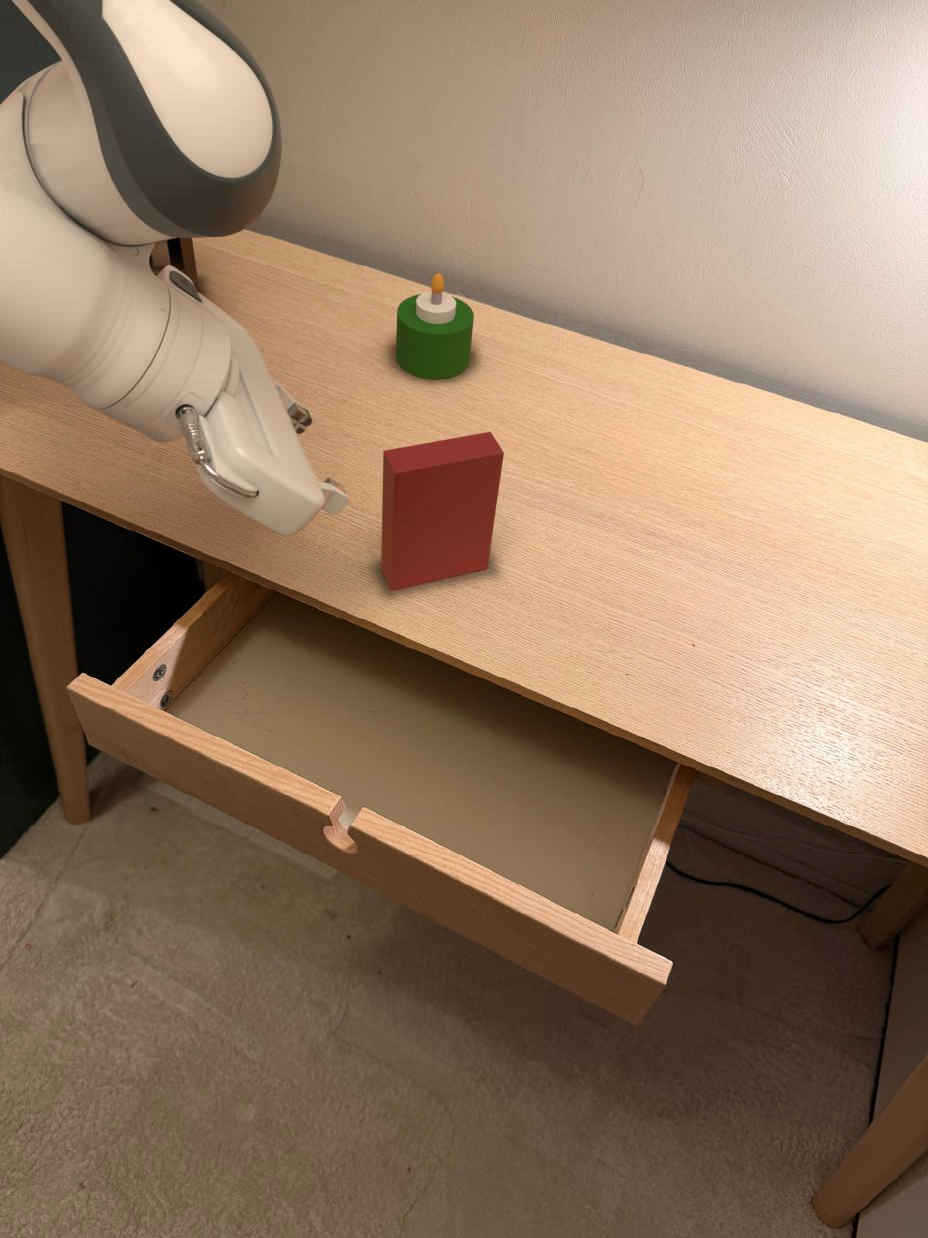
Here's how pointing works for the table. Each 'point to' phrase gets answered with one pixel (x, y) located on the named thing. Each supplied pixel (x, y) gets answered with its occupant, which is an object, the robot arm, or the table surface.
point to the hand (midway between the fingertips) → (322, 460)
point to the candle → (434, 333)
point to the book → (439, 508)
